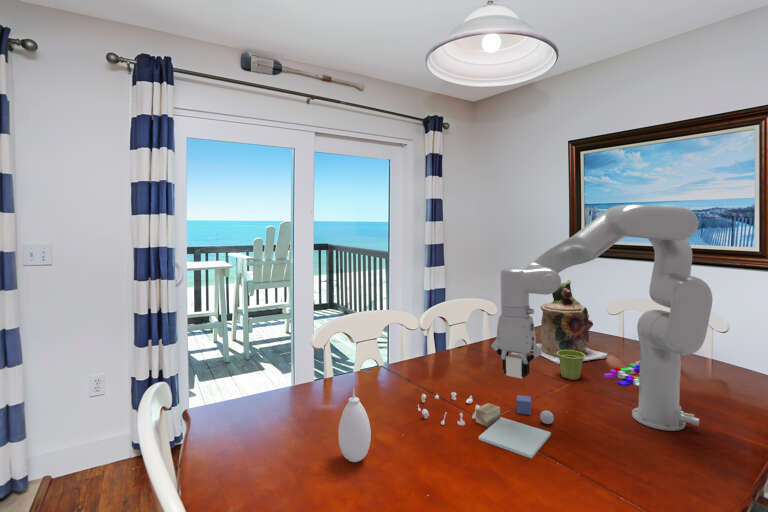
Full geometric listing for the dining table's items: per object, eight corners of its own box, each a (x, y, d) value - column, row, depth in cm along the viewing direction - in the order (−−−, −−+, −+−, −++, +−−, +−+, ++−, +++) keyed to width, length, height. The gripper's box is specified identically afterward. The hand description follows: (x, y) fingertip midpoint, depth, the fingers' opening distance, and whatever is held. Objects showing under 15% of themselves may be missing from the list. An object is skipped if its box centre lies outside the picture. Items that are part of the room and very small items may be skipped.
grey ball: (555, 422, 115) (555, 410, 115) (551, 427, 113) (551, 415, 112) (542, 419, 118) (542, 407, 117) (538, 423, 115) (538, 411, 115)
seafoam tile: (550, 435, 109) (550, 432, 109) (531, 458, 98) (531, 455, 98) (501, 419, 118) (501, 417, 118) (478, 439, 107) (478, 436, 107)
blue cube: (530, 409, 124) (530, 396, 124) (530, 415, 120) (530, 402, 120) (517, 407, 125) (517, 395, 125) (516, 413, 122) (516, 400, 121)
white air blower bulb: (371, 450, 103) (369, 381, 101) (371, 469, 95) (369, 394, 93) (340, 451, 102) (338, 382, 101) (337, 470, 95) (335, 395, 93)
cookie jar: (522, 348, 185) (523, 278, 182) (566, 343, 192) (567, 275, 189) (561, 366, 161) (562, 286, 159) (610, 359, 168) (612, 282, 166)
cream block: (527, 373, 117) (527, 355, 117) (521, 378, 113) (521, 359, 113) (512, 370, 120) (512, 352, 119) (506, 375, 116) (505, 356, 116)
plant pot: (589, 381, 145) (590, 357, 144) (562, 381, 145) (563, 358, 144) (577, 372, 154) (578, 349, 153) (552, 372, 154) (552, 350, 154)
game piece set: (431, 432, 112) (431, 418, 112) (407, 402, 131) (407, 390, 131) (494, 421, 117) (494, 408, 117) (462, 394, 136) (462, 383, 136)
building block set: (640, 395, 134) (640, 382, 133) (593, 373, 153) (593, 362, 153) (698, 386, 140) (698, 374, 140) (645, 367, 160) (646, 355, 160)
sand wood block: (500, 420, 117) (500, 407, 117) (487, 427, 114) (487, 413, 113) (488, 415, 120) (488, 402, 120) (475, 422, 117) (475, 408, 116)
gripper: (550, 312, 112) (550, 376, 114) (492, 306, 123) (494, 364, 124) (540, 317, 107) (541, 385, 108) (481, 310, 117) (482, 372, 119)
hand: (516, 373), depth 116 cm, fingers closed on cream block, 4 cm apart
